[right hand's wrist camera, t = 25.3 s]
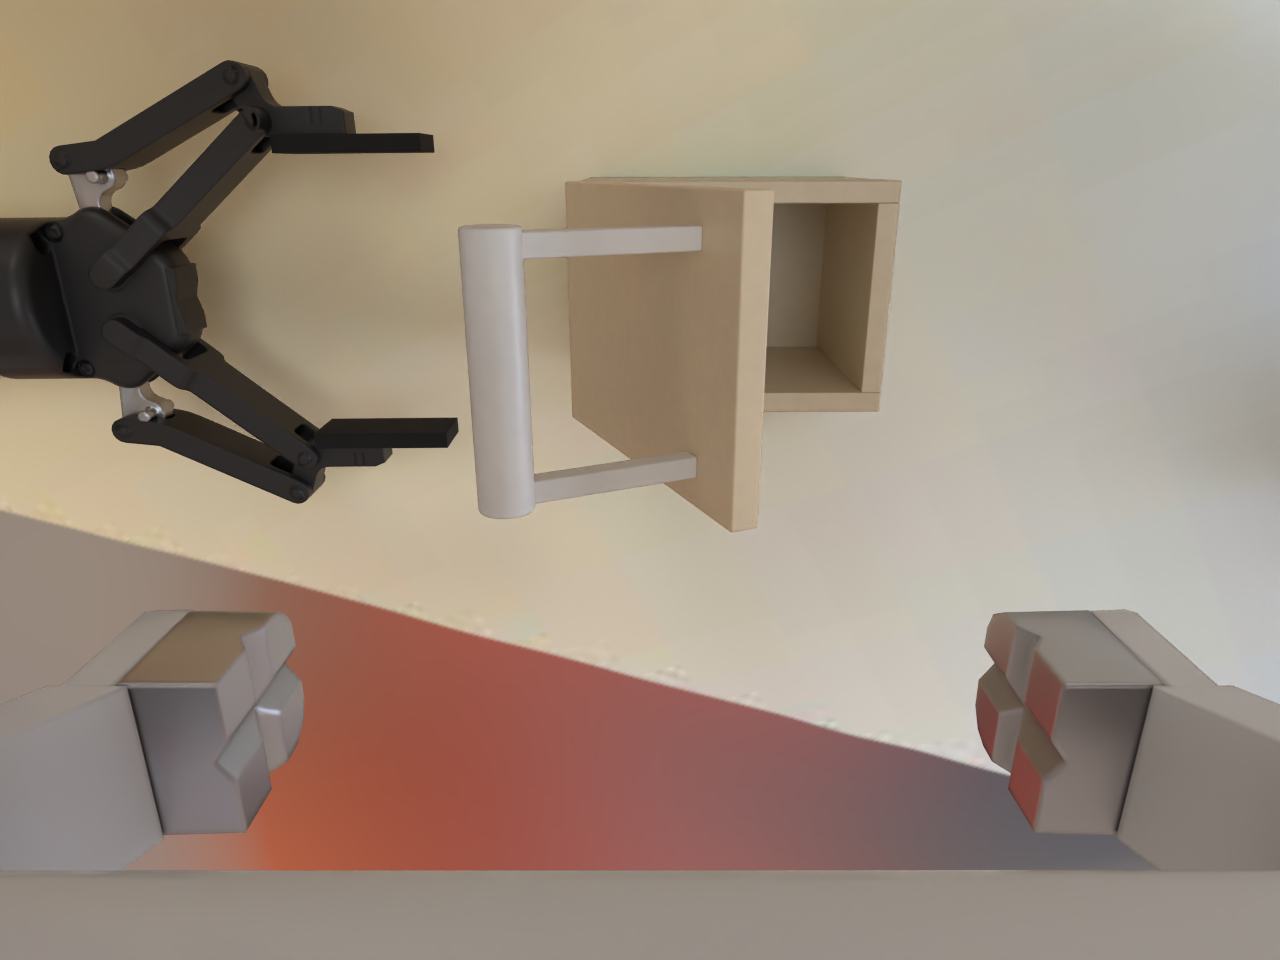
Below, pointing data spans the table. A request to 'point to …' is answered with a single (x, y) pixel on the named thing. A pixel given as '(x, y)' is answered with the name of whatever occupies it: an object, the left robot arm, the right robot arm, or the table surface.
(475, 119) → the table surface
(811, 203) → the chest
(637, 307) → the lid
